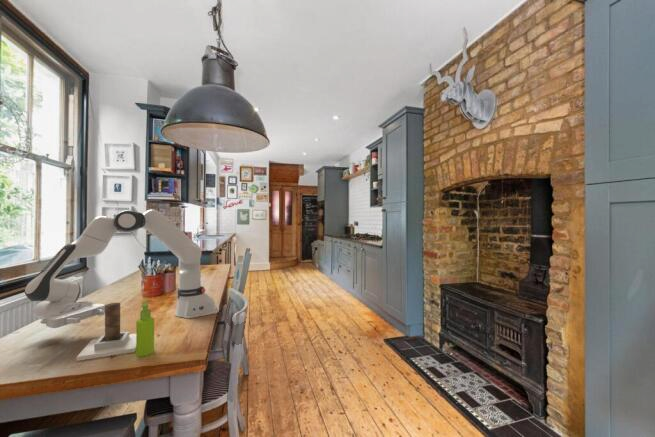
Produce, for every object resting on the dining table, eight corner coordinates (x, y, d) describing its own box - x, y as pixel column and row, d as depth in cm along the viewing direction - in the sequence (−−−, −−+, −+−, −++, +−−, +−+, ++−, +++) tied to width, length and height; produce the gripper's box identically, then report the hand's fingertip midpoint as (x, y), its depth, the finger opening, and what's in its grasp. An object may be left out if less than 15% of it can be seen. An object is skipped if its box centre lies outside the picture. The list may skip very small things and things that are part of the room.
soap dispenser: (134, 359, 106) (135, 306, 106) (137, 351, 112) (137, 301, 112) (153, 355, 109) (153, 304, 109) (154, 348, 115) (154, 299, 115)
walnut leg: (118, 339, 119) (118, 301, 119) (121, 343, 116) (121, 304, 115) (103, 343, 115) (103, 304, 115) (106, 347, 112) (106, 307, 112)
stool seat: (142, 335, 126) (142, 327, 126) (134, 351, 112) (134, 341, 112) (92, 342, 119) (92, 333, 119) (76, 360, 104) (76, 350, 104)
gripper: (37, 314, 112) (61, 318, 109) (92, 299, 132) (115, 302, 128) (37, 329, 112) (61, 334, 109) (92, 313, 132) (114, 316, 128)
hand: (91, 317), depth 119 cm, fingers open, 8 cm apart
